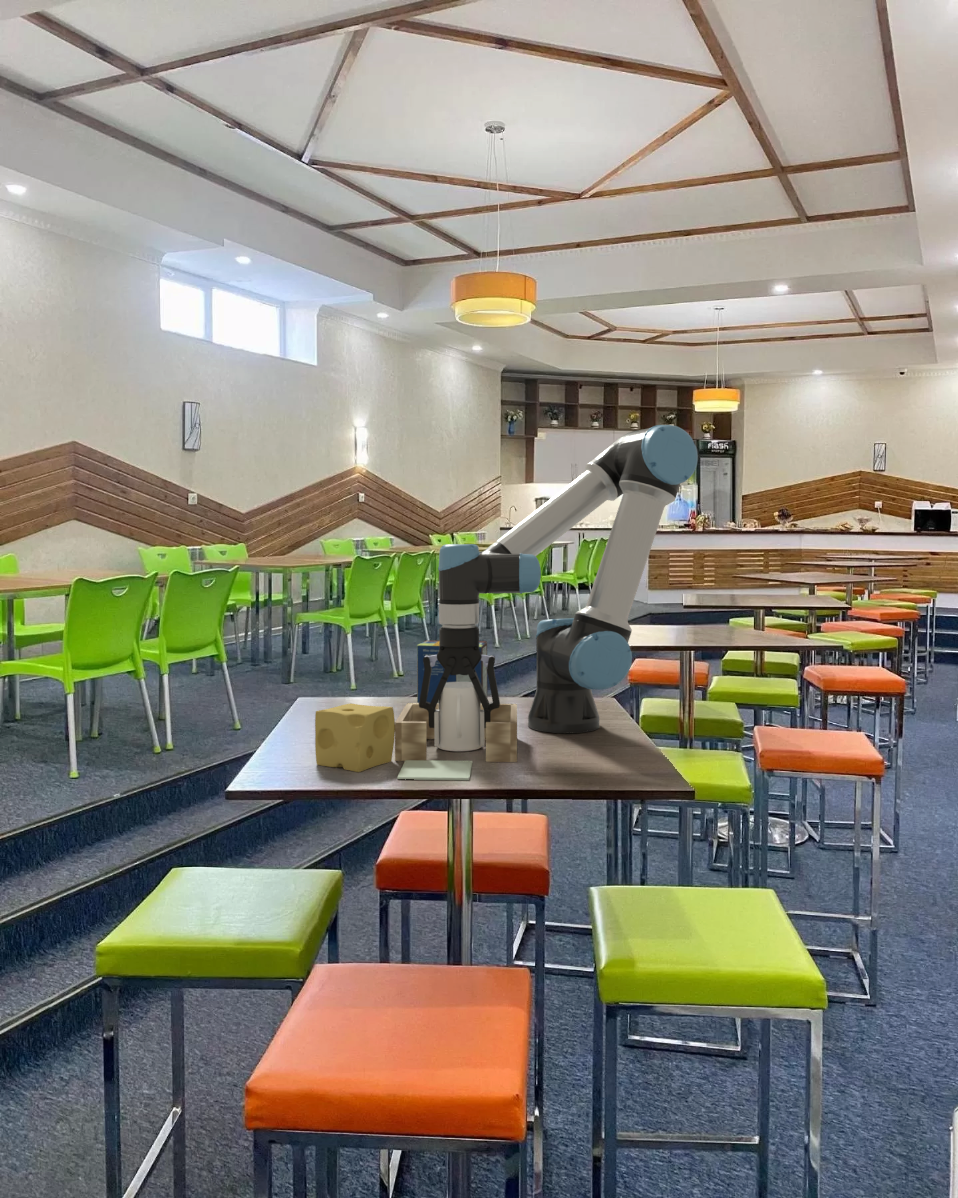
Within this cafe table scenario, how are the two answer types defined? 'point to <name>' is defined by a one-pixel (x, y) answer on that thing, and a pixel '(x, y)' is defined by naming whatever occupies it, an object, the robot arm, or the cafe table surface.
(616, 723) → the cafe table surface
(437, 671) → the protein box
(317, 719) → the cheese
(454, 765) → the mat
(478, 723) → the mug
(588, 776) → the cafe table surface
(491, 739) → the frame
